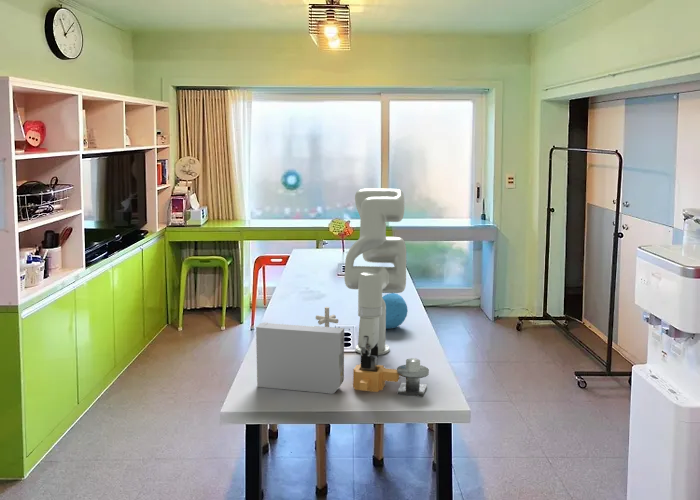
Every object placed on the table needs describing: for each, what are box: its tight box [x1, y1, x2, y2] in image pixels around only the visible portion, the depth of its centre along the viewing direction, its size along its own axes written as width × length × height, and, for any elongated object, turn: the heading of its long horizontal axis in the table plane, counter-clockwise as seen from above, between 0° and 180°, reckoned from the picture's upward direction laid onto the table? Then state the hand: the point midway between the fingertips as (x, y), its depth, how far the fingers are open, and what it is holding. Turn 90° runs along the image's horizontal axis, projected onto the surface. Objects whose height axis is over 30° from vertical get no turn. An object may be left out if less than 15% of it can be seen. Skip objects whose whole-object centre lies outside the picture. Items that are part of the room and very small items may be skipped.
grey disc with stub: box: [396, 357, 430, 398], centre depth 218 cm, size 10×10×10 cm
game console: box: [255, 321, 345, 395], centre depth 220 cm, size 6×27×20 cm, turn 77°
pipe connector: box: [315, 306, 339, 327], centre depth 280 cm, size 10×10×10 cm
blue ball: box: [382, 293, 409, 330], centre depth 285 cm, size 16×19×15 cm
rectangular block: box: [361, 355, 378, 372], centre depth 222 cm, size 3×4×10 cm
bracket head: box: [352, 363, 400, 393], centre depth 219 cm, size 12×14×6 cm
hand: (369, 362), depth 221 cm, fingers open, 9 cm apart
